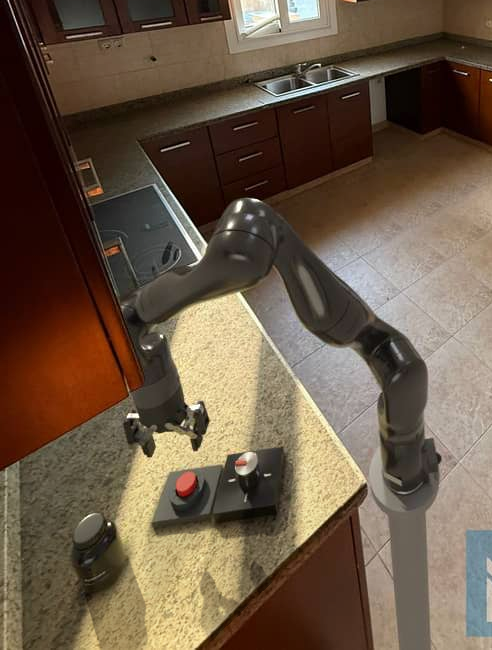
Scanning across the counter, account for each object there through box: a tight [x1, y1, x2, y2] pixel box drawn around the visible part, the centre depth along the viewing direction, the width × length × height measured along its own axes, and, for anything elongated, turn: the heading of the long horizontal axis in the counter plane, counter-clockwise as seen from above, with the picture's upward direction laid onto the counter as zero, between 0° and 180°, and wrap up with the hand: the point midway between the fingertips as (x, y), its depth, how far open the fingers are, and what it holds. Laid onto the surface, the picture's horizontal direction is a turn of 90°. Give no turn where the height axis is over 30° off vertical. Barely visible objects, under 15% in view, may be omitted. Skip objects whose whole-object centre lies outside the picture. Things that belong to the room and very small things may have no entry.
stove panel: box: [212, 446, 286, 525], centre depth 89 cm, size 12×11×3 cm
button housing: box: [150, 464, 224, 529], centre depth 88 cm, size 11×9×4 cm
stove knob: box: [235, 451, 261, 490], centre depth 88 cm, size 4×4×5 cm
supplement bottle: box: [69, 511, 127, 595], centre depth 76 cm, size 7×7×12 cm
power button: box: [176, 472, 197, 497], centre depth 87 cm, size 4×4×2 cm
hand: (174, 449), depth 84 cm, fingers open, 8 cm apart
